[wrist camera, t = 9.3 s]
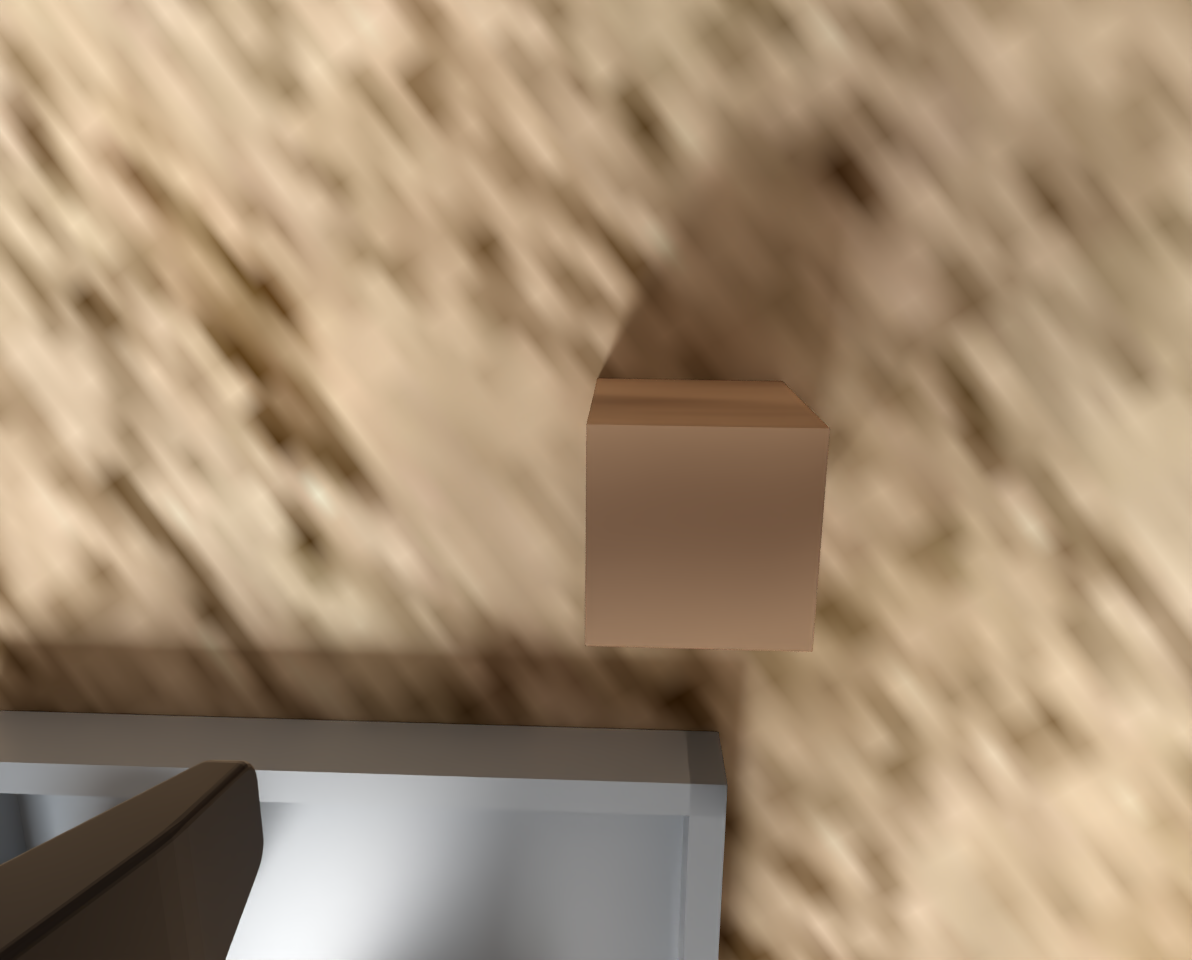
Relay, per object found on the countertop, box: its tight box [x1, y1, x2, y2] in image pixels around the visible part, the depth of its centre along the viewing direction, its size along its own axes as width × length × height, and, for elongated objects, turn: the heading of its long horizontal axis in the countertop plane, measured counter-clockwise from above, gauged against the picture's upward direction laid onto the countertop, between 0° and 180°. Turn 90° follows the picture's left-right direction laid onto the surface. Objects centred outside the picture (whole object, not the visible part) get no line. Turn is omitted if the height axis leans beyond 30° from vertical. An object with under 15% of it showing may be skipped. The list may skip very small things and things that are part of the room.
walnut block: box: [585, 378, 830, 652], centre depth 18 cm, size 4×4×5 cm
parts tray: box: [0, 711, 727, 960], centre depth 23 cm, size 11×18×2 cm, turn 89°
